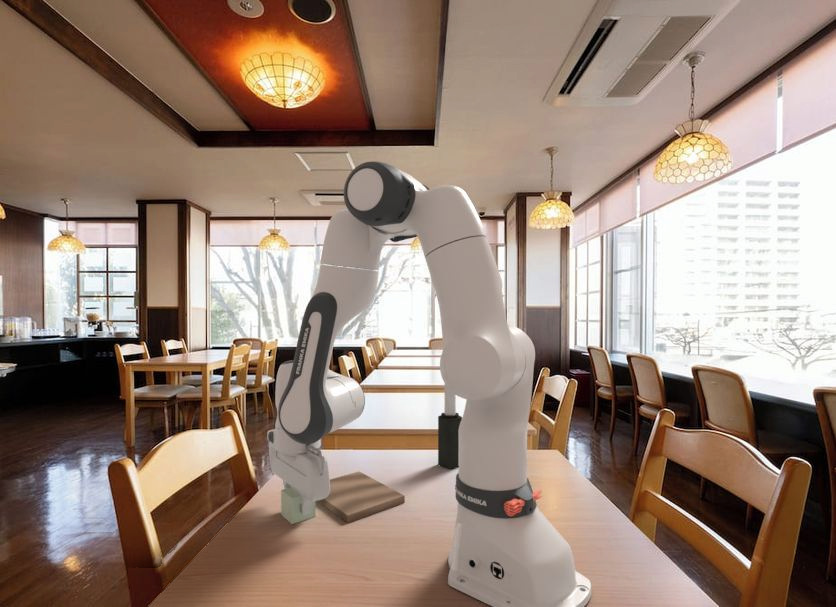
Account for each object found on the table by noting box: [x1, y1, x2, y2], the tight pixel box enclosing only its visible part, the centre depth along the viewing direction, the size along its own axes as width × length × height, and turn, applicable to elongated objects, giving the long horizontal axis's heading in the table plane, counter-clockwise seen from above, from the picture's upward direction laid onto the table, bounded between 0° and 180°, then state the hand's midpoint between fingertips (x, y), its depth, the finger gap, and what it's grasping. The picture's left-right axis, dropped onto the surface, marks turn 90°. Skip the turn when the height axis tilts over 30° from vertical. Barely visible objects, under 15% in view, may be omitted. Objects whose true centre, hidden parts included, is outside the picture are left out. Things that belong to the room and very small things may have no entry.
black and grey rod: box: [437, 383, 463, 470], centre depth 119 cm, size 5×5×25 cm
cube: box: [280, 487, 317, 525], centre depth 91 cm, size 5×5×5 cm
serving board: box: [317, 471, 406, 524], centre depth 99 cm, size 18×14×2 cm
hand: (298, 507), depth 91 cm, fingers closed on cube, 5 cm apart
